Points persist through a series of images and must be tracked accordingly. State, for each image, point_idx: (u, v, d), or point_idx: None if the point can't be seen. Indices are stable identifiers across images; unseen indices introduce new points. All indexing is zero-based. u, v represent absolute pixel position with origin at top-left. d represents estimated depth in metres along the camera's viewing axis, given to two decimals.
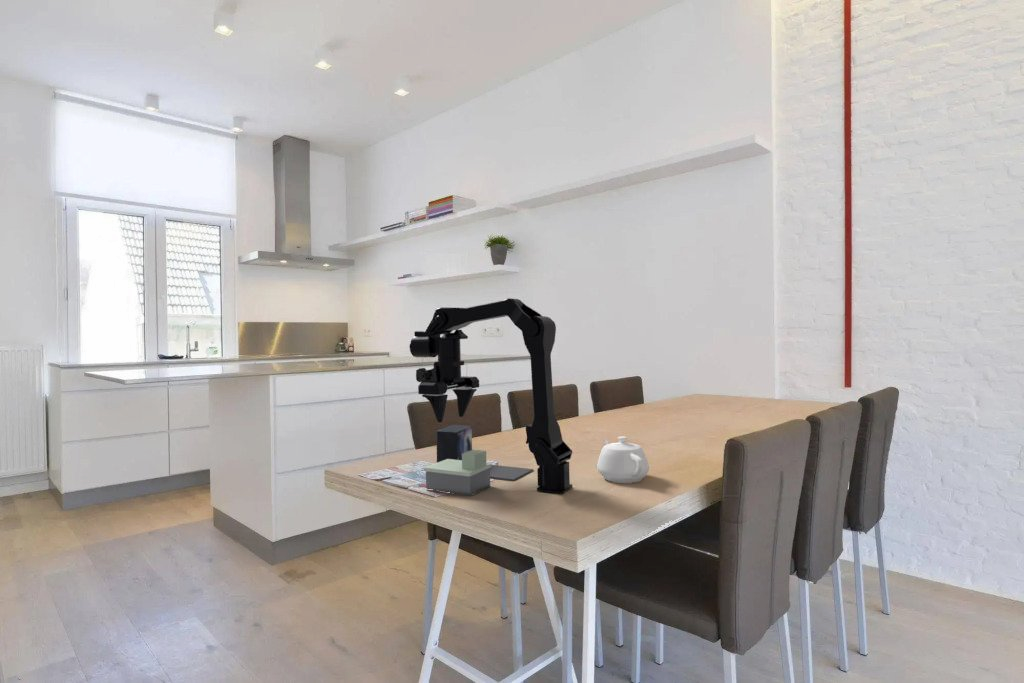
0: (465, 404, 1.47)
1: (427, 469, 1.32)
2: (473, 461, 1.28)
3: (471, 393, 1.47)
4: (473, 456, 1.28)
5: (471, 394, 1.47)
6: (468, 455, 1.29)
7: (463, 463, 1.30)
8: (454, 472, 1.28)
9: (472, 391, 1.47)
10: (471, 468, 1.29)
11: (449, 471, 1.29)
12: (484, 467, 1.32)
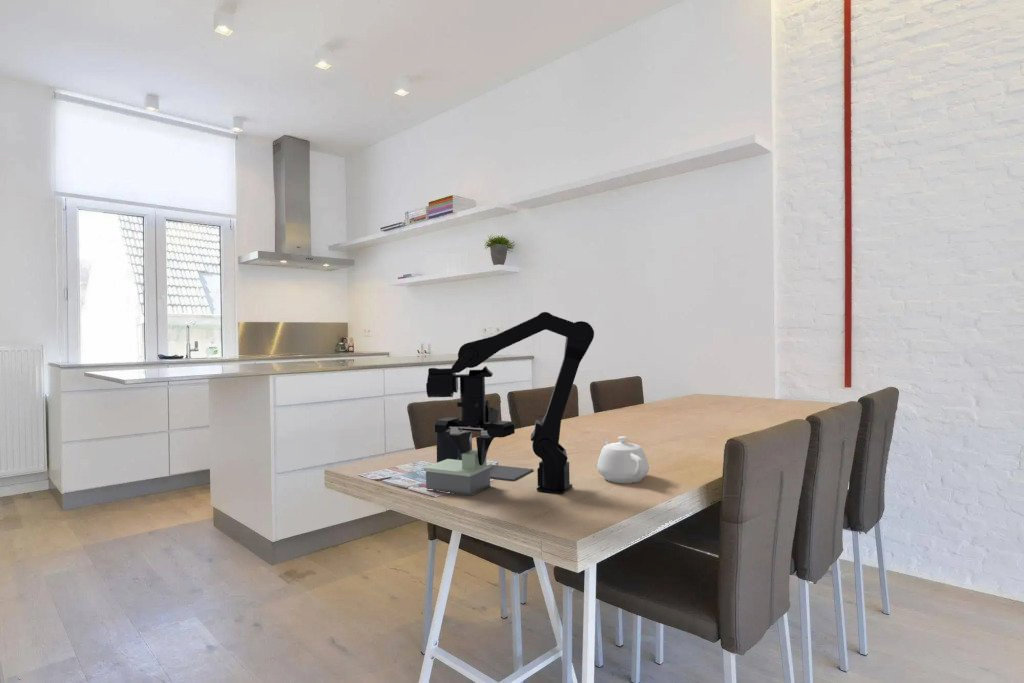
0: None
1: (427, 469, 1.32)
2: (473, 461, 1.28)
3: (478, 441, 1.27)
4: (473, 456, 1.28)
5: (477, 442, 1.27)
6: (468, 455, 1.29)
7: (463, 463, 1.30)
8: (454, 472, 1.28)
9: (478, 439, 1.27)
10: (471, 468, 1.29)
11: (449, 471, 1.29)
12: (484, 467, 1.32)
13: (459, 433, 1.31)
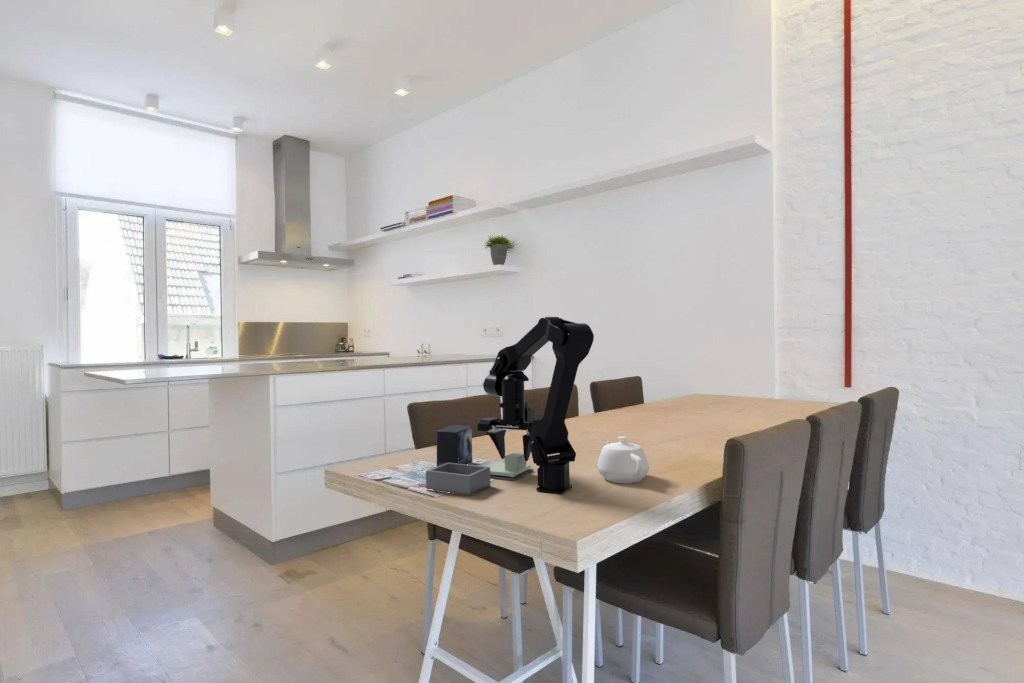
0: None
1: None
2: (515, 462, 1.41)
3: (524, 439, 1.40)
4: (515, 458, 1.41)
5: (524, 439, 1.40)
6: (511, 457, 1.42)
7: (506, 465, 1.43)
8: (498, 473, 1.41)
9: (524, 437, 1.40)
10: (513, 469, 1.42)
11: (493, 472, 1.42)
12: (524, 468, 1.45)
13: (496, 431, 1.45)
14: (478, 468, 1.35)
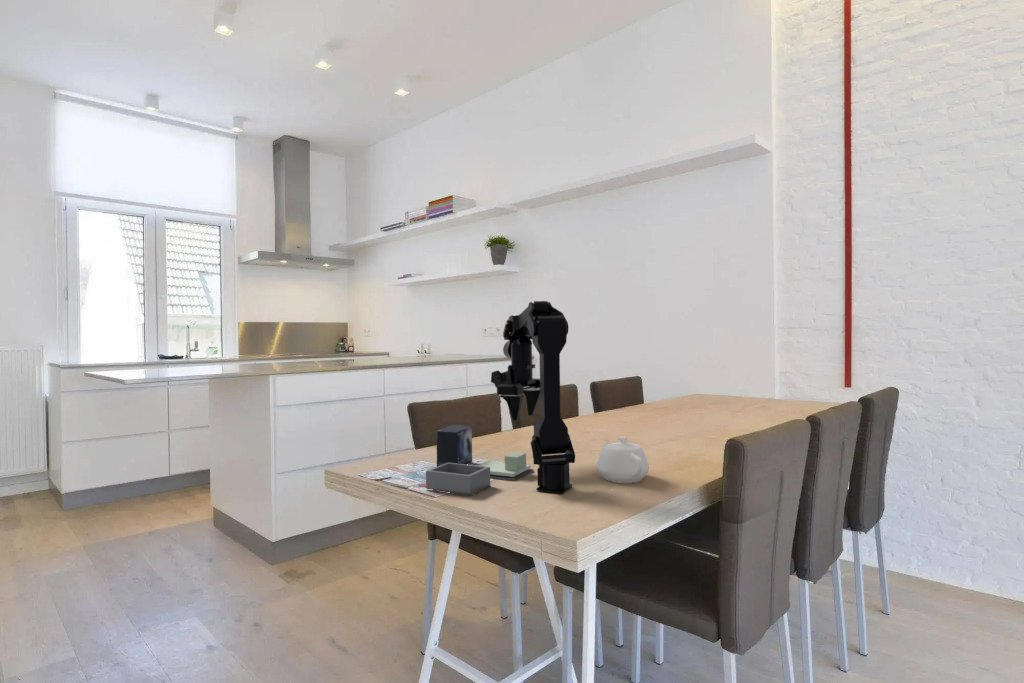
0: (534, 404, 1.60)
1: None
2: (515, 462, 1.41)
3: (540, 394, 1.60)
4: (515, 458, 1.41)
5: (539, 394, 1.60)
6: (511, 457, 1.42)
7: (506, 465, 1.43)
8: (498, 473, 1.41)
9: None
10: (513, 469, 1.42)
11: (493, 472, 1.42)
12: (524, 468, 1.45)
13: None
14: (478, 468, 1.35)
